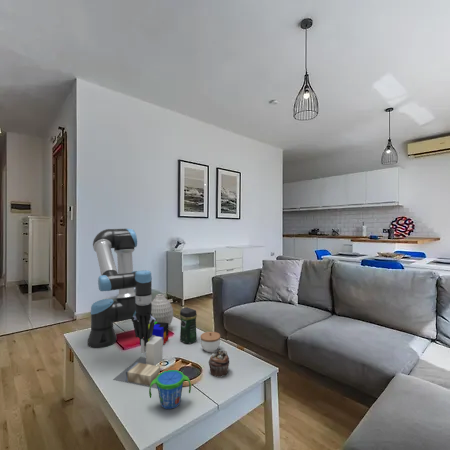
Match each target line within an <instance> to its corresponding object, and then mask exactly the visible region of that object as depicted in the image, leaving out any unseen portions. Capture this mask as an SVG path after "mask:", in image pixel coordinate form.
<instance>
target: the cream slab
mask: <svg viewBox="0 0 450 450" xmlns="http://www.w3.org/2000/svg"><path fill="white" fill-rule="evenodd" d="M163 346H164V345H163V337H157V336H155V337H154V338H152V339H151V340H150V341H148V342H147V343H146V352H145V353H146V354H145V358H146V364H149V365H154V366H155V365H156V364H157V363H159V362H160V361H162V360H163V358H164V357H163V352H164V351H163V349H164V348H163ZM163 361H164V360H163Z"/></svg>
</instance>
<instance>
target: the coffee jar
mask: <svg viewBox="0 0 450 450" xmlns="http://www.w3.org/2000/svg"><path fill="white" fill-rule="evenodd" d="M197 316H198V315H197V310H196V309H193V308H191V307H190V308H189V307H187V306H186V307H183V308H181V309H180V311H179V317H180V333H179V339H180V341H181V342H183V343H184V344H193V343H196V341H197V340H198V339H197V337H198V336H197Z"/></svg>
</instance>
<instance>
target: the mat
mask: <svg viewBox="0 0 450 450" xmlns="http://www.w3.org/2000/svg"><path fill="white" fill-rule="evenodd" d="M136 363H143V364H146V356H145V357H144V356H140V357H138V358H137V359H136V360H135V361H133V363H132V364H130V365H128V367H127V368H125V369H124V370H123V371H122V372H120V373H119V374H118V375H117V376H115V377H114V378H113V379H112V381H118V382H120V383H121V382H122V383H127V384H131V385H136V386H142V387H147V388H150V386H149V385H144V384H139V383H134V382H129V381H126V371H127V370H129V369H130V368H131V367H132V366H133V365H134V364H136ZM151 389H156V390H158V388H157V385H156V384H153V385H152V386H151Z"/></svg>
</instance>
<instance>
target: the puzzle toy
mask: <svg viewBox="0 0 450 450" xmlns="http://www.w3.org/2000/svg"><path fill="white" fill-rule="evenodd" d="M149 325H150V324H149ZM155 336H157V337H163V346H165V345H166V343H167V342H168V341H169V327H168V323H162V322H155V324H154V329H153V333H152V337H150V338H149V339H148V341H150V340H151V339H152V338H154V337H155Z"/></svg>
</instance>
